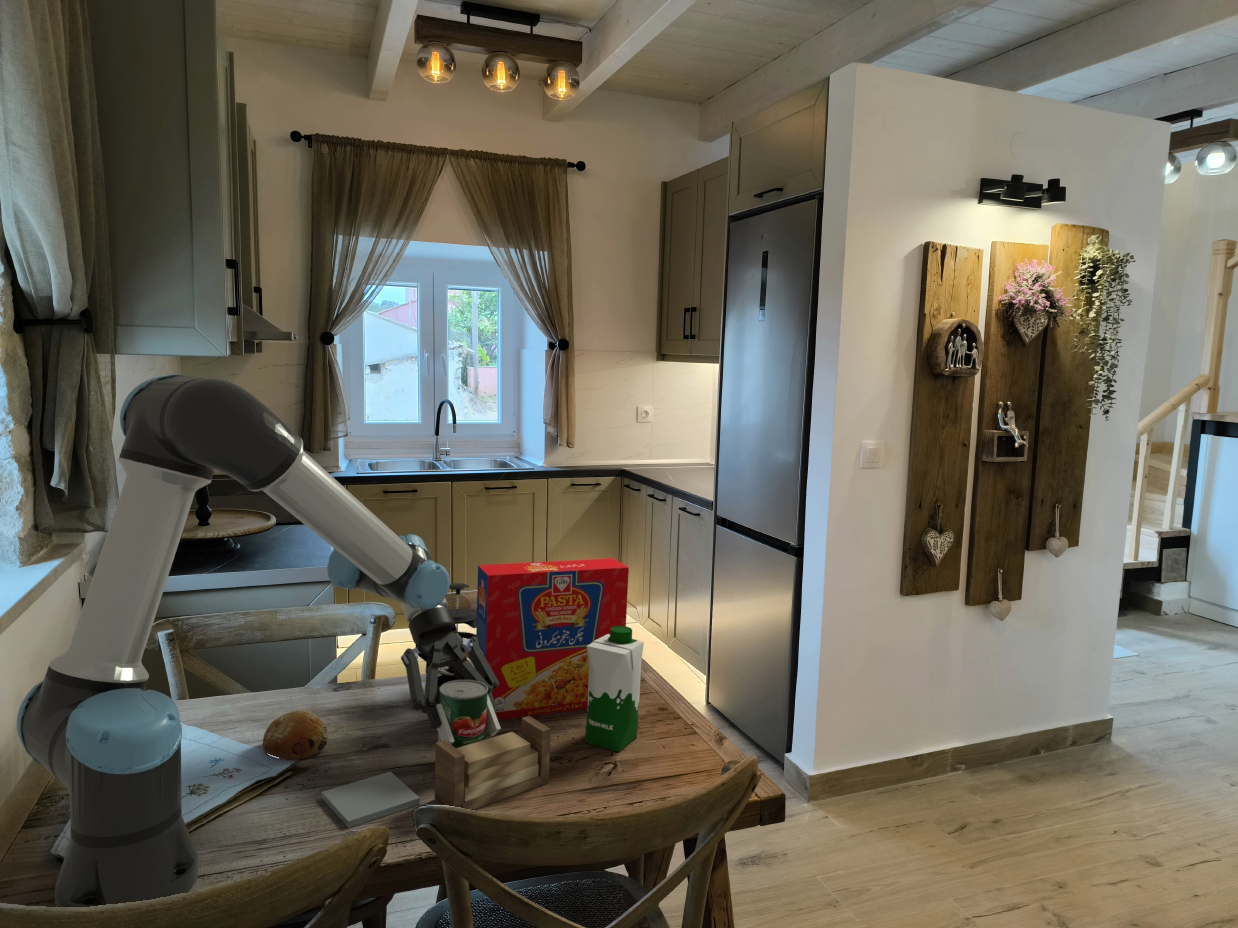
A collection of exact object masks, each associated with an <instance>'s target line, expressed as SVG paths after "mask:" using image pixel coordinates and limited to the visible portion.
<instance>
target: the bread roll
mask: <svg viewBox="0 0 1238 928" xmlns="http://www.w3.org/2000/svg"><path fill="white" fill-rule="evenodd" d="M327 728H328V727H327V726H326V724H325V723H324V722H323V721H322V720H321V718H320V717H319V716H318V715H317V714H315V713H313V712H312V711H309V710H303V709H301V710H293V711H289V712H287V713H285V714H282V715H280V716H278V717H277V718H276V719H274V720H273V721H272V722H271V723H270V725H268V727H267V728H266V730H265V731H264V735H263V738H262V747H263V751H264V753H265V754H266V753H268V754H270V755H273V756H276V757H279V758H282V759H285V760H284V761H298V760H305V759H308V758H310V757H314V756H315V755H317V754H319V753H320V752H322V751H323V750H325V746H326V745H327V742H328V741H327V740H329V739H330V738H329V736H328V734H327V732H328V729H327ZM282 759H281V760H282Z"/></svg>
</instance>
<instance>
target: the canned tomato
mask: <svg viewBox="0 0 1238 928" xmlns="http://www.w3.org/2000/svg"><path fill="white" fill-rule="evenodd" d="M439 692H440V695H439V704H442V706H443V709H444V712H445V715H446V718H447V721H448V724H449V726H450V729H451V732H452V735H453V738H454V742H453V744H452V746H453V747H455V748H459V747H462V746H466V745H469V744H473V743H476V742H479V741H483V740H486V739H487V726H486V724H487V694H488V687H487V685H485V684H484V683H482V682H479V681H474V680H455V681H450V682H447V683H445V684H443V685H442V686H441V687H440V688H439ZM440 741H441V739H440V736H439V733H438V732H437V742H440Z"/></svg>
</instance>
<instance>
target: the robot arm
mask: <svg viewBox="0 0 1238 928" xmlns="http://www.w3.org/2000/svg"><path fill="white" fill-rule="evenodd" d="M119 423H120V428H121V429H120V430H121V431H122V434H123V436H124V437H125V438H124V441H123V445H122V447H121V449H120V453H119V457H118V459H117V460H118V462H119V464H120V465H121V466H122V468H123V470H124V472H125V480H124V483H123V486H122V488H121V492H120V495H119V497H118V500H117V503H116V507H115V510H114V513H113V516H112V518H111V522H110V524H109V528H108V530H107V534H106V536H105V538H104V539H105V540H104V542H103V546H102V548H101V551H100V555H99V558H98V561H97V563H96V565H95V566H96V567H95V569H94V573H93V575H92V578H91V581H90V584H89V588H88V590H87V593H86V596H85V599H84V603H83V605H82V609H81V612H80V614H79V617H78V620H77V623H76V626H75V629H74V632H73V635H72V638H71V641H70V645H69V647H68V649H67V651H65V652H64V653H62V654H59V656H57V657H55V658H53V659H51V660H50V662H49V664H48V666H47V670H46V673H45V675H44V678H43V680H41V681H40V682H39V683H37V684H35V685H33V687H32V688H31V689H30V690H29V692H28V693H27V694H26V695H25V696H24V699H23V700H22V702H21V704H20V706H19V709H18V712H17V718H16V731H17V735H18V738H19V741H20V743H21V744H22V745H23V748H24V749H25V752H26V754H28V755H29V756H30V757H31V758H32V760H33V761H34V762H36V763H37V764H39V766H41V767H44V769H46V770H47V771H48V773H50V774H51V775H53V776H54V778H56V779H57V780H58V781H59V782H61V784H62V785H64V786H65V787H66V788H67V791H68V794H69V818H70V819H69V821H70V841H69V845H68V847H67V851H66V853H65V856H64V858H63V862H62V864H61V868H60V871H59V872H58V876H57V880H56V882H55V887H54V907H55V906H57V907H90V906H98V905H106V904H118V903H126V902H136V901H143V900H151V899H156V898H160V897H167V896H171V895H175V894H180V893H185V892H187V893H188V892H189V891H190V890H191V888H193V886H194V884H195V883H196V880H198V879H197V878H198V875H199V855H198V852H197V848H196V846H195V843H194V841H193V838H192V836H191V835H190V832H189V830H188V827H187V825H186V823H185V820H184V818H183V816H182V813H183V812H182V738H183V725H182V724H181V720H180V711H179V707H178V706H177V704H176V702H175V701H174V700H173V699H172V698H171V697H170V696H168V695H167V694H164V693H162V692H160V691H157V690H155V689H146V687H147V684H148V680H149V677H150V674H149V673H148V671H147V669H146V668H145V665H143V663H142V658H143V656H144V655H143V654H144V651H145V649H146V645H147V644H148V640H149V637H150V634H151V631H152V628H153V624H154V623H155V622H154V621H155V619H156V614H157V613H158V610H159V609H158V608H159V606H160V603H161V599H162V596H163V593H164V590H165V587H166V583H167V581H168V578H169V574H170V571H171V569H172V566H173V565H172V564H173V562H174V560H175V555H176V552H177V549H178V546H179V543H180V541H181V537H182V535H183V534H182V533H183V532H184V528H185V526H186V523H187V519H188V516H189V512H190V509H191V506H192V504H193V500H194V497H195V493H196V492H197V491H198V490H199V489H202V488H204V487H205V486H207V485H209V484H211V483H212V480H213V477H214V474H215V471H218V472H220V473H223V474H225V475H227V476H229V477H231V478H232V479H234V480H236V481H237V482H238V483H240V484H241V485H242V486H244V487H245V488H246V489H247V490H248V491H251V492H261V491H262V492H264V493H265V494H267V496H269V497H270V498H271V499H272V500H274V501H275V502H276V503H277V504H279V505H280V506H281V507H283V509H284V510H286V511H287V512H288V513H289V514H291V515H292V516H293V517H294V518H296V519H297V520H298V521H300V522H301V523H302V524H303V525H305V526H306V527H307V528H308V529H309V530H311V531H312V532H314V533H315V535H317V536H318V537H319V538H320V539H322V540H323V541H324V542H326V543H327V544H328V545H329V546H331V547H332V548H333V550H332V551H331V553H330V555H329V557H328V563H327V576H328V579H329V581H330V583H331V584H332V586H334V587H335V588H338V589H347V590H349V591H353V590H362V591H364V592H368V593H371V594H373V595H377V596H381V597H383V598H387V599H390V600H392V601H396V602H398V603H400V606H401V608H402V611H403V615H404V617H405V621H406V622H407V624H408V629H409V632H410V635H411V637H412V641H413V643H414V644H415V647H413V648H409V647H408V648H406V649H405V651H404V652H403V653H402V655H401V656H400V660H401V662H402V663H403V665H404V667H405V671H406V676H407V677H406V678H407V683H408V690H409V696H410V701H411V708H412V710H413V711H419V710H421V711H422V713H423V714H425V715H427V719H428V721H429V725H430V727H431V728H432V729H433V730H437V734H438V733H439V736H440V739H441V741H443V740H445V741H447V742H448V743H449V744H451V745H452V744H453V742H454V738H453V735H452V732H451V729H450V726H449V724H448V721H447V718H446V715H445V712H444V709H443V706H442V704H437V703H436V695H437V680H438V676H439V673H438V668H440V667H442V666H450V665H451V666H452V667H453V669H455V670H457V671H458V672H459V673H460V674H461V675H462V676H463V677H464V679H465V680H474V681H479V682H482V683H484V684H485V685H487V687H488V694H487V724H486V730H487V731H488V734H489V736H490V737H493V736H494V737H495V735H497V733H498V732H499V731H500V730H501V729H502V728H501V726H500V725H501V724H500V722H499V720H497V717H496V714H495V712H496V710H497V706H496V703H495V701H494V698H493V695H492V692H493V691H494V690H495V689H496V688H497V686H498V685H499V681H498V680H497V678H496V676H495V674H494V672H493V671H492V669H491V667H490V665H489V664H488V662H487V660H486V658H485V657H484V655H483V653H482V651H481V650H480V648H479V643H478V638H477V637H476V636H473V637H472V638H471V639H464V638H461V637H460V636H459V634H458V633H457V630H456V624H455V622H454V619H453V617H452V614H451V611H450V610H449V609H450V608H449V603H448V601H447V598H446V597H447V595H448V593H449V590H450V589H449V586H450V584H451V581H450V575H449V572H448V570H447V569H446V568H445V567H444V566H443V565H441V564H439V563H438V562H435V561H434V560H432V557H431V554H430V551H429V550H428V549H427V547H426V544H425V542H424V540H423V539H422V538H421V537H420V536H418V535H417V534H413V533H412V534H411V533H409V534H408V533H407V534H405V535H399V536H398V535H397V534H396V533H395V532H394V531H393V530H392V529H391V528H389V526H388V525H386V524H385V523H384V522H383V521H382V520H381V519H380V518H378V517H377V516H376V515H375V514H374V513H373V512H372V511H371V510H370V509H368V507H366V506H365V505H364V504H363V503H362V502H361V501H360V500H359V499H357V497H355V495H353V494H352V493H351V492H350V491H349V490H348V489H347V488H346V487H345V486H344V485H342V484H341V483H340V482H339V481H338V480H337V479H335V477H333V475H331V474H330V473H329V472H328V470H326V469H324V467H322V466H321V465H320V463H318V462H317V461H316V460H315V459H314V458H312V457H311V456H310V454H308V453H307V452H306V451H304V441H303V439H302V437H300V436H299V434H298V433H296V432H295V431H294V430H293V429H292V428H291V427H290V426H289V425H288V424H286V422H284V421H283V419H281V418H280V417H279V416H278V415H276V413H274V412H273V410H271V409H270V408H269V407H267V406H266V405H265V404H264V403H263V402H262V401H261V400H259V399H258V398H257V397H256V396H255V395H254V394H252V393H250V392H249V391H248V390H246V389H244V388H243V387H242V386H239V385H237V384H235V383H233V382H230V381H228V380H224V379H220V378H214V377H213V378H211V377H199V376H192V375H191V376H189V375H184V374H168V375H162V376H155V377H151V378H150V379H147V380H145V381H143V382H141V383H140V384H138V385H137V386H135V387H134V388H133V389H132V390H131V391H130V392H129V393H128V395H127V396H126V397H125V399H124V401H123V403H122V406H121V409H120V414H119ZM462 647H463V648H464V649H465V652H464V653H463V652H462V651H461V648H462ZM465 653H467V655H466V654H465ZM467 656H468V657H469V659H468V657H467ZM419 658H421V659H422V660H423V661H425V671H424V672H425V674H426V675H425V684H424V685H425V686H424V688H423V683H422V677H421V672H420V664H419V660H418V659H419ZM457 659H458V661H457ZM468 660H471V662H472V664H473V665H474V667H475V668H474V667H473V666H472V665H471V664H470V662H469V661H468Z"/></svg>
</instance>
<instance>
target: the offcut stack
mask: <svg viewBox="0 0 1238 928" xmlns="http://www.w3.org/2000/svg"><path fill="white" fill-rule="evenodd" d="M456 749H457V750H459V751H460V752H461V753H463V754H464V755H465V764H464V802H466V801H469V800H472V799H475V798H477V797H480V796H483V795H486V794H489V793H492V792H495V791H498V790H500V789H503V788H506V787H509V786H512V785H515V784H518V783H521V782H524V781H526V780H529V779H532V778H535V777H538V768H539V764H538V752H537V751H535V750H534V749H532V748H531V747H530V743H528V742H527V741H525V740H524V739H522V738H521V736H520V735H518V734H516V733H515V732H514V731H511V732H507V733H504V734H500V735H496V736H494V737H493V736H492V737H490V738H486V740H483V741H479V742H476V743H473V744H469V745H466V746H462V747H459V748H456Z"/></svg>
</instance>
